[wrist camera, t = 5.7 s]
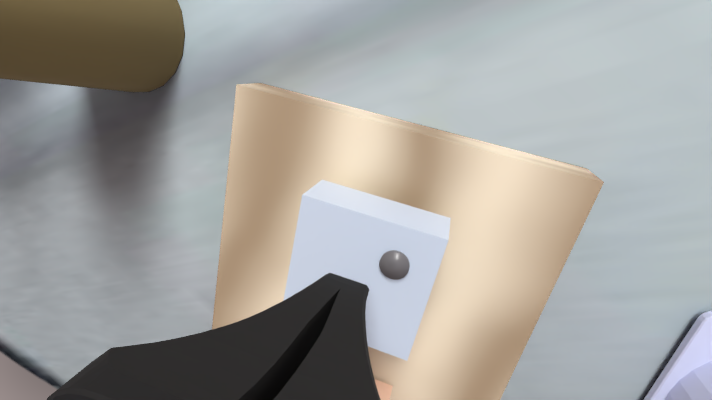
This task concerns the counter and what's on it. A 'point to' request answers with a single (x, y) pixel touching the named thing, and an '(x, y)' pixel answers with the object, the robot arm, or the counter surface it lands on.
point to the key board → (417, 189)
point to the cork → (91, 42)
